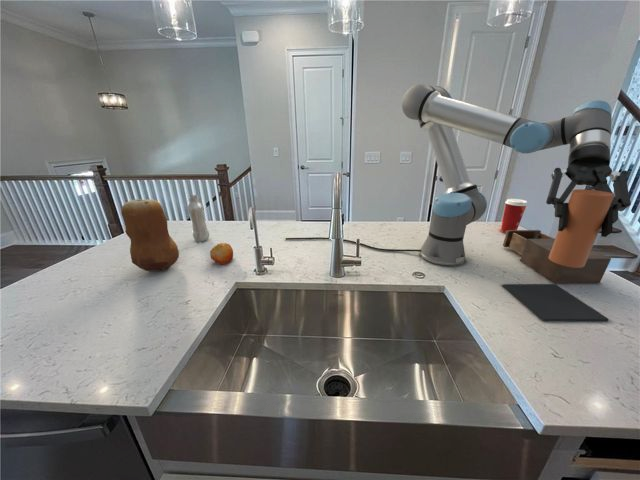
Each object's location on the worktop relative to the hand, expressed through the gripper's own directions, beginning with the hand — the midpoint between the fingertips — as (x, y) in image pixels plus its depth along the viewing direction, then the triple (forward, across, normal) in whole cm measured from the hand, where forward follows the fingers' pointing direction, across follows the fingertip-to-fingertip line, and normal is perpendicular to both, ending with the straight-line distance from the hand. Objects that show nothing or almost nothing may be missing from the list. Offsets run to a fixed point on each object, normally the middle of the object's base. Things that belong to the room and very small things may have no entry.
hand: (583, 231), depth 61 cm
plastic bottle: (+26, +124, -5) cm, 127 cm away
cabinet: (-3, -5, -34) cm, 35 cm away
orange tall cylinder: (+4, 0, -9) cm, 10 cm away
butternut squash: (+44, +115, +12) cm, 124 cm away
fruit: (+33, +99, +2) cm, 105 cm away
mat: (+13, 0, -18) cm, 22 cm away
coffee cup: (-28, +6, -60) cm, 66 cm away
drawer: (-12, +2, -42) cm, 44 cm away
